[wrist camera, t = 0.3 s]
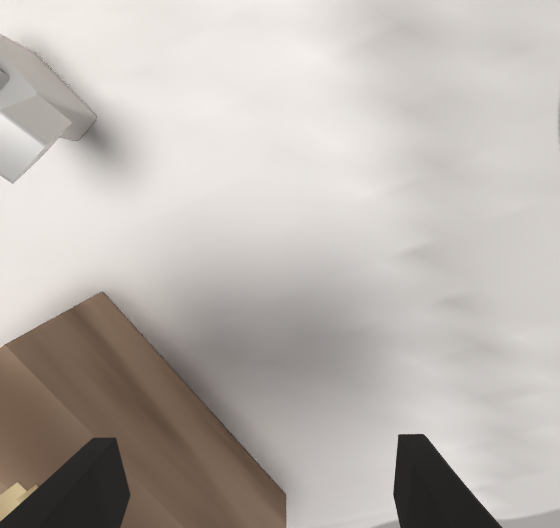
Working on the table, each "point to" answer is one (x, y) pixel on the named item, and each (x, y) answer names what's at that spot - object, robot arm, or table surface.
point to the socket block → (123, 425)
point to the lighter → (34, 110)
